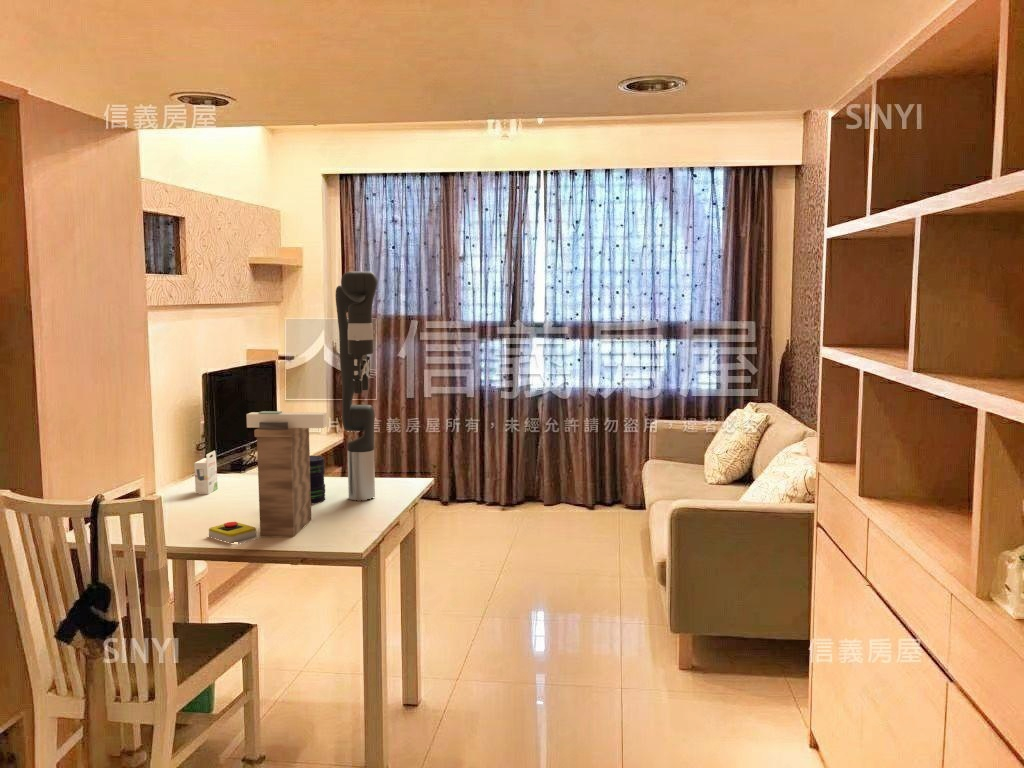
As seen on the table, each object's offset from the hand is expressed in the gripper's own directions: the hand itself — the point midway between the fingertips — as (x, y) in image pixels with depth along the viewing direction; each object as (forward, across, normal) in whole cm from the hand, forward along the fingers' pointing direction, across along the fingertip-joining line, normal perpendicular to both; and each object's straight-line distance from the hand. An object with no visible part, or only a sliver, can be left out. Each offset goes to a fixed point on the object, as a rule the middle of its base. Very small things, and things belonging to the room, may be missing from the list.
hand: (361, 391), depth 239 cm
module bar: (+10, +5, -22) cm, 24 cm away
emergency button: (+43, +12, -36) cm, 57 cm away
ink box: (+42, -43, -68) cm, 91 cm away
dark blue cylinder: (+42, -32, -26) cm, 59 cm away
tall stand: (+42, +2, -24) cm, 48 cm away
